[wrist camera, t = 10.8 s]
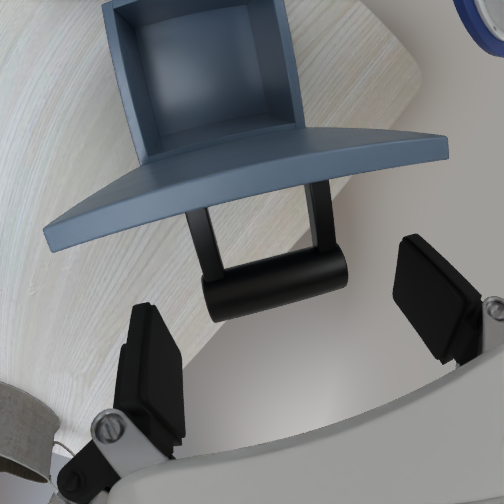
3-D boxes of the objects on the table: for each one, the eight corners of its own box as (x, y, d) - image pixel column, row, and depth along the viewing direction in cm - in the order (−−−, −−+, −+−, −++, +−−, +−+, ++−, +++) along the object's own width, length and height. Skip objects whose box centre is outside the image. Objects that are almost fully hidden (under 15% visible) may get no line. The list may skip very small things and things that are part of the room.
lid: (40, 228, 7) (113, 373, 9) (448, 136, 8) (445, 280, 10) (139, 166, 20) (159, 235, 22) (307, 127, 21) (318, 195, 23)
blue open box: (127, 26, 21) (100, 4, 13) (251, -1, 22) (276, -32, 14) (156, 144, 29) (141, 170, 20) (273, 117, 29) (306, 131, 21)
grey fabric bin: (-23, 367, 40) (-51, 459, 19) (98, 420, 54) (95, 518, 33) (-14, 406, 48) (-30, 479, 27) (83, 446, 62) (81, 521, 41)
